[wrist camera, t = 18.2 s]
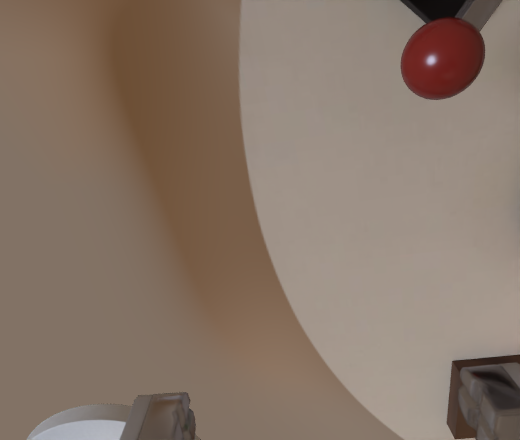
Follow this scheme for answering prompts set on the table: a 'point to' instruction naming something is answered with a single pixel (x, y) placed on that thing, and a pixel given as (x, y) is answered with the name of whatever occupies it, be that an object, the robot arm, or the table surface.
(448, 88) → the lever
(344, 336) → the table surface
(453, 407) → the button block
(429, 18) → the bracket
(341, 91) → the table surface
